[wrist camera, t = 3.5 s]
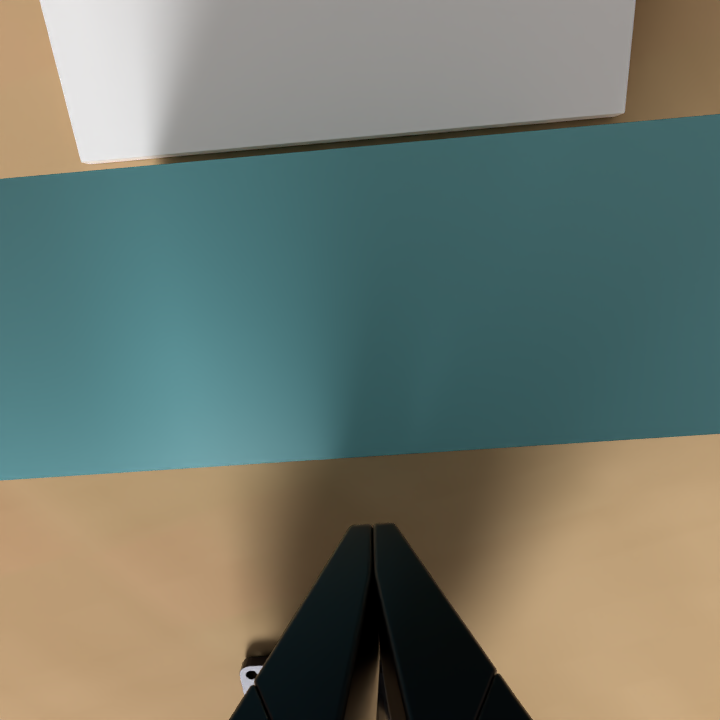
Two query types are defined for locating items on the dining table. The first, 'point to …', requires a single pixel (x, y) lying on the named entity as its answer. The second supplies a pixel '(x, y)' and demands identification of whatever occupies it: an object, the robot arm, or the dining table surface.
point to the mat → (327, 69)
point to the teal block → (363, 301)
